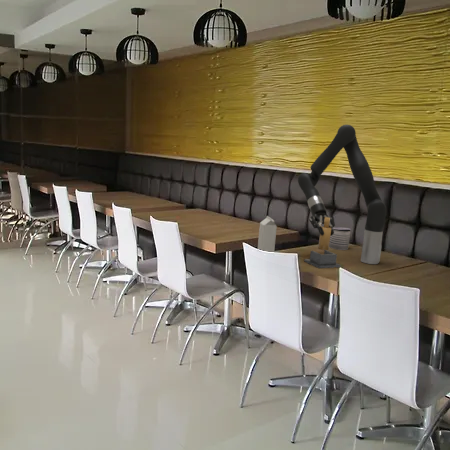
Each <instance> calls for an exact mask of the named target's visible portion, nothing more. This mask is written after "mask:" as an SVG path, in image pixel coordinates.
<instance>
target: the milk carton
mask: <svg viewBox="0 0 450 450" xmlns="http://www.w3.org/2000/svg"><path fill="white" fill-rule="evenodd" d="M277 229H278V228H277V224H276V223H275V219H273V218H272V217H270V216H269V215H266V217H265V218H264V219H263V220H261V221H260V222H259V230H258V238H257V239H258V241H257V250H258V249H261V250H264V251H270V252H274V253H275V249H276V248H275V245H276V238H277V237H276V236H277Z"/></svg>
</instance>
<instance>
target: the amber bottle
mask: <svg viewBox="0 0 450 450" xmlns="http://www.w3.org/2000/svg"><path fill="white" fill-rule="evenodd" d="M329 217H330V216H328V217H325V220H324V224H323V226H322V225H321V227H322V228H323V231H324V235H323V236H321V234H320V233H319V240H318V246H317V247H318V250H322V251H324V250H327V251H330V247H329V244H330V236H331V227H329V223H330V218H329Z"/></svg>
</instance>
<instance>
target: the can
mask: <svg viewBox="0 0 450 450" xmlns="http://www.w3.org/2000/svg"><path fill="white" fill-rule="evenodd" d="M333 231H334V234H333V235H331V236H330V244H329V249H330V248H331V249H334V250H339V251H340V250H341V251H348V249H349V245H350V236H351V228H349V227H336V226H334V227H333Z"/></svg>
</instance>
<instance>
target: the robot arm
mask: <svg viewBox="0 0 450 450" xmlns="http://www.w3.org/2000/svg"><path fill="white" fill-rule="evenodd" d="M356 134H357V133H356V129H355V127H353V125H350V124H343V125H341V126H340V127H339V128H338V129H337V132H336V134H335V135H334V138H333V139H332V141H331V142H330V143H329V145H327V147H326V148H325V149H324V151H322V152H321V153H320V155H318V157H317V158H316V159H315V160H314V161H313V162H312V164H311V165H310V170H311V171H310V174H308V173H306V172H302V173H300V174H299V175H298V177H297V184H298V186H299V187H300V189H301V191H302V193H303V195H305V199H306V201H307V205H308V208H309V210H310V214H311V216H310V217H309V218H308V221H309V222H310V224H311V225H312V227H313V229H317V230H318V233H319V235H320V234H321V236H323V235H324V231H323V228H322V225H324V220H325V217H329V218H330V223H329V227H331V235H333V234H334V231H333V227H336V224H335V218H334V216H329V215H328V214H327V213H328V212H327V209H326V207H325V204H324V201H323V199H322V198H321V195H320V191H318V189H317V188H316V187H315V186H316V185H317V184H318V182H319V181H320V178H321V176H322V174H323V173H324V172H325V171H326V170H327V168H328V167H329V166H330V164H331V163H332V161H334V159H335V158H336V156H337V155H338V154H339V153H340V151H342V149H344V151H345V154H346V157H347V161H348V165H349V167H350V168H349V169H350V171H351V173H352V176H353V179H354V180H355V182H356V185H357V186H358V188H359V190H360V192H361V194H362V195H363V198H364V202H365V205H366V210H367V215H366V219H365V220H366V221H365V225H364V233H363V240H362V246H361V247H362V249H361V255H360V262H362V263H364V264H369V265H378V264H379V263H380V261H381V252H382V241H383V234H384V233H383V232H384V227H385V223H386V218H387V217H386V216H387V206H386V205H385V203H384V202H383V200H382V198H381V196H380V194H379V193H378V190H377V187H376V183H375V179H374V176H373V172H372V169H371V167H370V164H369V163H368V161H367V158H366V157H365V155H364V153H363V151H362V150H361V148H360V146H359V143H358V139H357V135H356Z"/></svg>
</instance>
